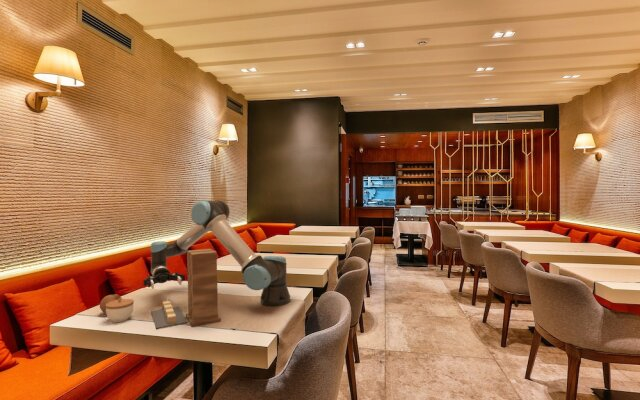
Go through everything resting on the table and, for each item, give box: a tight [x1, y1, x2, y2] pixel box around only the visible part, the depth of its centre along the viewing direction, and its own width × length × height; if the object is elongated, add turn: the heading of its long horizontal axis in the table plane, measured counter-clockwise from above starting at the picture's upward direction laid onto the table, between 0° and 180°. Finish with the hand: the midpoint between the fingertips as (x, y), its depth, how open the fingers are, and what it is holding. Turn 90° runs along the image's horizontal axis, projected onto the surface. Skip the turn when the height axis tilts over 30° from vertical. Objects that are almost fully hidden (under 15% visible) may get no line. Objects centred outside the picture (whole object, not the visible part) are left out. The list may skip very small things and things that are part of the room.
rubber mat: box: [150, 305, 189, 330], centre depth 150 cm, size 24×12×1 cm, turn 32°
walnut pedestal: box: [185, 248, 222, 328], centre depth 147 cm, size 14×12×30 cm
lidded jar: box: [105, 298, 135, 323], centre depth 148 cm, size 11×11×9 cm
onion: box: [99, 293, 123, 315], centre depth 156 cm, size 10×9×10 cm
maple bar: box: [162, 299, 176, 324], centre depth 152 cm, size 26×3×3 cm, turn 30°
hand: (167, 283), depth 153 cm, fingers open, 11 cm apart
